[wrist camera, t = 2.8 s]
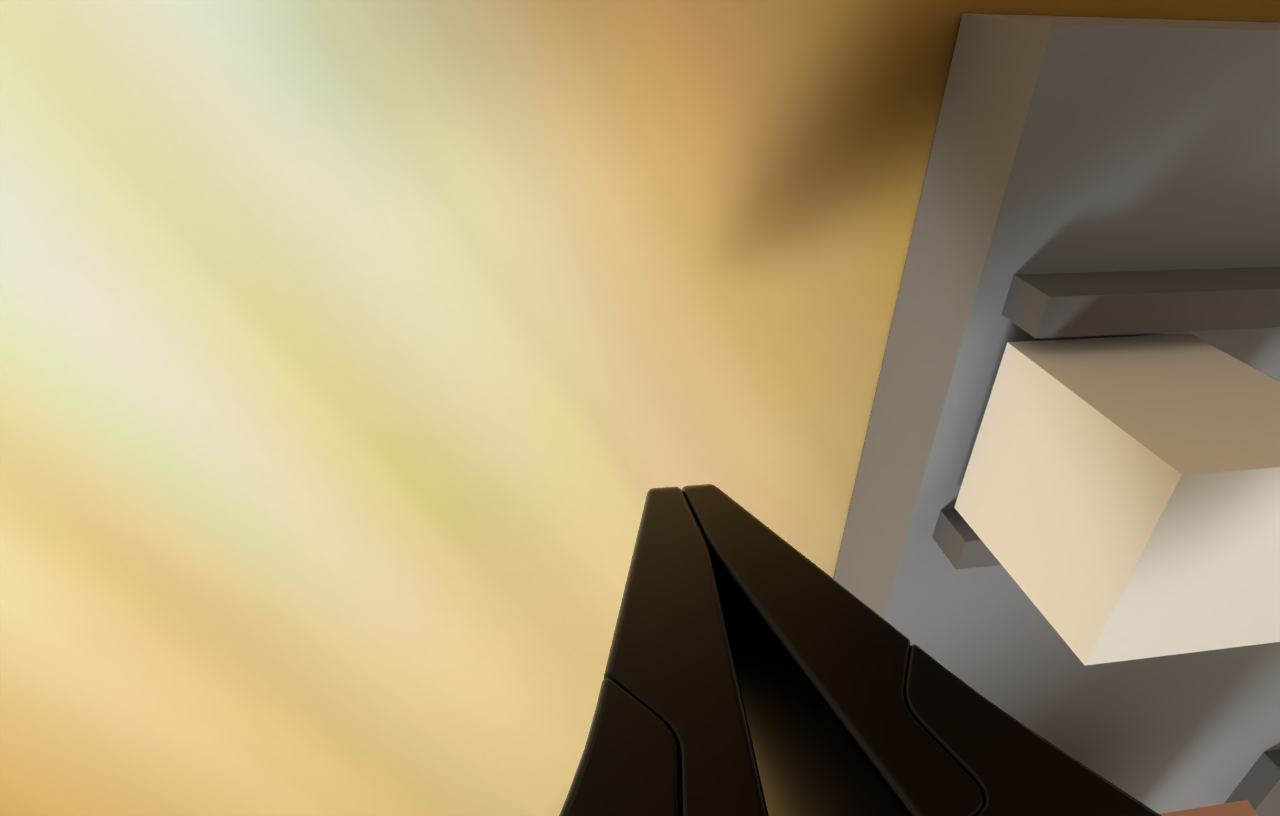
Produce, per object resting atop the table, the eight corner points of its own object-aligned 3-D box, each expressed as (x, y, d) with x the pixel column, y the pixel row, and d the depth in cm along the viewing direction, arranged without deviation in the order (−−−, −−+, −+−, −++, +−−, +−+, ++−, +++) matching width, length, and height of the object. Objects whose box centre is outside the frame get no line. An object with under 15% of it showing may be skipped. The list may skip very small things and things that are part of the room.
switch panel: (764, 878, 22) (797, 992, 20) (962, 13, 10) (1106, 31, 8) (1224, 804, 25) (1304, 898, 22) (1812, 38, 13) (2121, 57, 10)
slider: (953, 506, 12) (1084, 665, 9) (1007, 342, 11) (1182, 474, 8) (1117, 493, 13) (1285, 641, 10) (1190, 334, 11) (1414, 456, 8)
